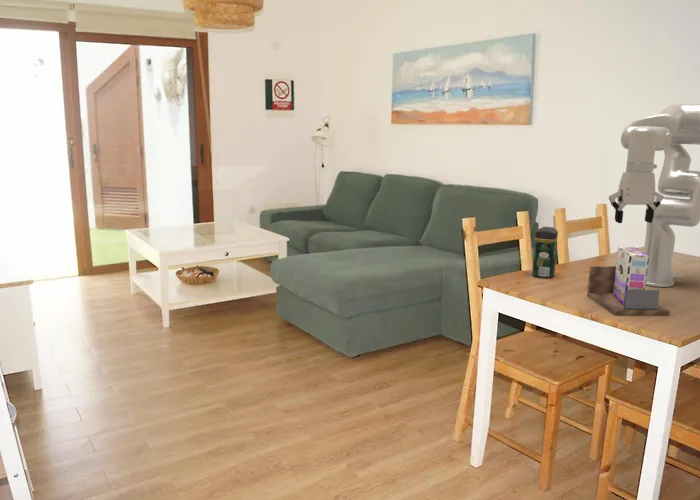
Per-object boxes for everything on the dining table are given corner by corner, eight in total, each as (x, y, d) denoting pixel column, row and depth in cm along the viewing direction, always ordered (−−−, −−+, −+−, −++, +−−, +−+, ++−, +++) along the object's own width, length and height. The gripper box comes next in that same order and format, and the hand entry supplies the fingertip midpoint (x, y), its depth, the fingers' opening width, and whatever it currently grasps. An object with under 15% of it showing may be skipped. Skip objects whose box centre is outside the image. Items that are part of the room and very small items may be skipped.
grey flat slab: (655, 308, 182) (658, 290, 181) (657, 309, 182) (659, 290, 180) (623, 308, 182) (626, 290, 181) (625, 309, 181) (627, 290, 180)
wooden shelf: (636, 296, 201) (640, 266, 198) (669, 315, 181) (674, 282, 179) (587, 296, 200) (590, 265, 198) (614, 315, 181) (618, 282, 178)
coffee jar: (534, 271, 232) (538, 224, 228) (555, 273, 229) (559, 226, 225) (529, 276, 224) (533, 228, 220) (551, 279, 220) (556, 230, 216)
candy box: (643, 307, 184) (650, 255, 180) (623, 306, 184) (629, 254, 181) (630, 294, 197) (636, 246, 193) (612, 293, 198) (617, 245, 194)
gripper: (659, 166, 188) (653, 219, 192) (606, 167, 187) (601, 220, 191) (673, 169, 181) (666, 224, 185) (618, 169, 180) (612, 224, 184)
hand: (633, 222), depth 188 cm, fingers open, 9 cm apart
